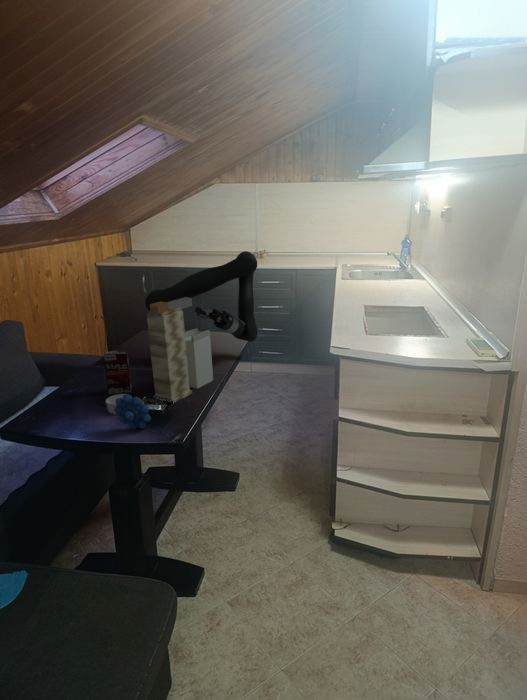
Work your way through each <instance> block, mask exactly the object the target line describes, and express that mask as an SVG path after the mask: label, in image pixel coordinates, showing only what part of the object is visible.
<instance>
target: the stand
mask: <svg viewBox="0 0 527 700" xmlns="http://www.w3.org/2000/svg"><path fill="white" fill-rule="evenodd" d="M159 314H160V316H154V315H151V311H150V312H149V311H147V314H146V320H147V323H146V324H147V329H148V341H149V350H151V352H150V360H151V359H152V361H151V366H152V376H153V384H154V386H153V387H154V395H153V396H152V398H153V397H159V398H167V399H172V401H173V404H175V403H177V402H179V401H181V400H182V398H183V399H184V398H186V397H189V396H190V395H192V394H193V389H191V387H189V375H188V363H187V352H186V340H185V332H186V331H185V317H184V310H182V309H181V308H176V309H173V310H169V311H166V312H163V313H159ZM180 399H181V400H180ZM178 400H179V401H178ZM176 401H177V402H176ZM174 402H175V403H174Z"/></svg>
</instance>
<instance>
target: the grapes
mask: <svg viewBox="0 0 527 700" xmlns="http://www.w3.org/2000/svg"><path fill="white" fill-rule="evenodd" d="M124 394H125V395H123V397H122V398H123V399H122V398H118V399H116V405H117V407H115V409H114V411H115V413H116V414H115V415H118V416H119V417H118V418H119V421H120V423H121V424H124V425H128V427H129V428H130V429H132V430H136V429H137V428H140V429H146V427H147V423H149V422H151V420H152V418H151V416H150V414H149V412H150V408H149V405H147V404H145V403H144V404H143V402H142V400H141V398H140V397H138V396H134V397H132V395H131V396H130V394H129V393H128V394H127V393H124Z"/></svg>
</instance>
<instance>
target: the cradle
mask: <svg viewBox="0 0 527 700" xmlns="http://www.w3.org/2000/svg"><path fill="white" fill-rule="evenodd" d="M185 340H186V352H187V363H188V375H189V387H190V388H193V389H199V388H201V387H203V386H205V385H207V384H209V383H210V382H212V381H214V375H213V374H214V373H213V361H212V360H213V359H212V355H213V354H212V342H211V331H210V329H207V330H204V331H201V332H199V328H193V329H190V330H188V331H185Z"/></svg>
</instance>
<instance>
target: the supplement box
mask: <svg viewBox="0 0 527 700" xmlns="http://www.w3.org/2000/svg"><path fill="white" fill-rule="evenodd" d="M103 360H104V361H103V363H104V368H105V377H106V383H107V391H108V395H111V394H113V393H114V394H123V393H122V392H125V393H131V392H132V388H133V387H132V378H131V370H130V369H131V368H130V360H129V350H127V349H125V350H123V349H122V350H113V351H105V352H104V353H103ZM114 394H113V395H114Z"/></svg>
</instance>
